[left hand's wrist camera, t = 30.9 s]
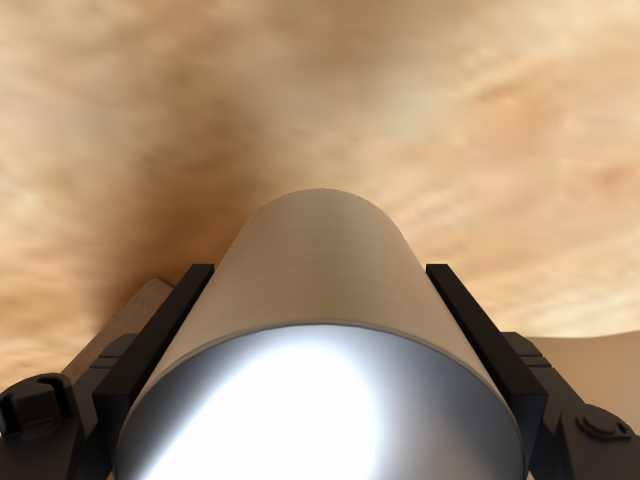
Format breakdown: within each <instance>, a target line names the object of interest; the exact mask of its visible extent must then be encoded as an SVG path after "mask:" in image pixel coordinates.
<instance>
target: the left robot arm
mask: <svg viewBox="0 0 640 480" xmlns="http://www.w3.org/2000/svg"><path fill="white" fill-rule="evenodd" d="M214 272H215V271H214V264H193V265H192V266H191V267H190V269H189V270H188V271H187V272H186V274H185V275H184V276H183V278H182V279H181V280H180V281H179V283H178V284H177V285H176V287H175V288H174V289H173V290H172V292H171V293H170V294H169V295H168V297H167V298H166V299H165V301H164V302H163V303H162V304H161V306H160V307H159V308H158V309H157V311H156V312H155V313H154V315H153V316H152V317H151V318H150V320H149V321H148V322H147V324H146V325H145V326H144V327H143V329H142V330H141V331H140V332H139V333H124V334H123V335H121V336H120V337H118V338H117V339H115V340H114V341H112V342H111V343H109V344H108V345H107V346H106V348H105V349H104V350H103V351H102V352H101V353H100V354H99V356H98V358H96V359H95V360H94V361H93V362H92V364H91V365H90V366H89V369H86V370H85V372H84V373H83V374H82V375H81V376H80V377H79V378H78V380H77V381H76V382H75V383H74V384H73V385H72V384H71V381H70V378H68V377H67V376H66V375H64V374H59V373H47V374H39V375H36V376H33V377H30V378H27V379H24V380H22V381H20V382H18V383H16V384H14V385H12V386H10V387H9V388H7V389H6V390H5V391H3V392H2V393H1V394H0V432H1V435H2V437H1V438H0V480H107V478H108V477H109V475H110V473H111V471H112V475H113V479H114V480H115V455H116V447H117V443H118V439H119V435H120V431H121V428H122V426H123V423H124V421H125V419H126V417H127V415H128V412H129V410H130V408H131V407H132V405H133V404H134V402H135V400H136V399H137V397H138V395H139V394H140V392H141V391H142V389H143V387H144V386H145V384H146V382H147V381H148V379H149V378H150V376H151V374H152V373H153V371H154V370H155V368H156V366H157V365H158V363H159V361H160V360H161V358H162V357H163V355H164V353H165V352H166V350H167V348H168V347H169V345H170V344H171V342H172V340H173V339H174V337H175V336H176V334H177V332H178V331H179V329H180V327H181V326H182V324H183V323H184V321H185V319H186V318H187V316H188V314H189V313H190V311H191V310H192V308H193V306H194V305H195V303H196V302H197V300H198V298H199V297H200V295H201V293H202V292H203V290H204V289H205V287H206V285H207V284H208V282H209V280H210V279H211V277H212V276H213V274H214ZM426 274H427V276H428V277H429V279H430V281H431V282H432V284H433V285H434V287H435V289H436V290H437V292H438V293H439V295H440V297H441V298H442V300H443V302H444V303H445V305H446V306H447V308H448V310H449V311H450V313H451V314H452V316H453V318H454V319H455V321H456V322H457V324H458V326H459V327H460V329H461V331H462V332H463V334H464V335H465V337H466V339H467V340H468V342H469V343H470V345H471V347H472V348H473V350H474V352H475V353H476V355H477V356H478V358H479V360H480V361H481V363H482V364H483V366H484V368H485V369H486V371H487V373H488V374H489V376H490V377H491V379H492V381H493V382H494V384H495V385H496V387H497V389H498V390H499V392H500V394H501V395H502V397H503V398H504V400H505V402H506V404H507V405H508V407H509V409H510V410H511V412H512V414H513V416H514V417H515V420H516V422H517V425H518V428H519V431H520V434H521V436H522V441H523V447H524V453H525V461H526V463H525V480H527V476H528V472H529V471H530V472H531V474H532V476H533V477H534V479H535V480H640V436H638V435H635V433H634V432H633V430H632V429H631V427H630V426H628V425H627V424H626V423H625V422H624V421H622V420H621V419H620V418H619V417H617V416H615V415H614V414H612V413H610V412H608V411H606V410H605V409H602V408H599V407H596V406H593V405H590V404H585V403H584V401H583V400H582V399H581V398H580V397H579V396H578V395H577V393H576V392H575V391H574V390H573V389H572V388H571V387H570V385H569V384H568V383H567V382H566V381H565V380H564V379H563V378H562V376H561V375H560V374H559V373H558V372H557V371H556V370H555V368H552V366H551V364H550V363H549V362H548V360H547V359H546V358H545V357H543V356H542V354H541V353H540V351H539V350H538V349H537V348H536V347H535V346H534V345H533V343H532V342H530V341H529V340H527V339H526V338H524V337H522V336H521V335H519V334H518V333H516V332H500V331H499V330H498V328H497V327H496V326H495V325H494V323H493V322H492V321H491V319H490V318H489V317H488V316H487V314H486V313H485V312H484V310H483V309H482V308H481V307H480V305H479V304H478V303H477V302H476V300H475V299H474V298H473V296H472V295H471V294H470V293H469V291H468V290H467V289H466V288H465V286H464V285H463V284H462V282H461V281H460V280H459V279H458V277H457V276H456V275H455V273H454V272H453V271H452V270H451V268H450V267H449V266H448V265H447V264H426Z"/></svg>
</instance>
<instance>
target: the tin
mask: <svg viewBox="0 0 640 480" xmlns="http://www.w3.org/2000/svg"><path fill="white" fill-rule="evenodd" d="M525 463H526V461H525V453H524V447H523V441H522V436H521V434H520V431H519V428H518V425H517V422H516V420H515V417H514V416H513V414H512V412H511V410H510V409H509V407H508V405H507V404H506V402H505V400H504V398H503V397H502V395H501V394H500V392H499V390H498V389H497V387H496V385H495V384H494V382H493V381H492V379H491V377H490V376H489V374H488V373H487V371H486V369H485V368H484V366H483V364H482V363H481V361H480V360H479V358H478V356H477V355H476V353H475V352H474V350H473V348H472V347H471V345H470V343H469V342H468V340H467V339H466V337H465V335H464V334H463V332H462V331H461V329H460V327H459V326H458V324H457V322H456V321H455V319H454V318H453V316H452V314H451V313H450V311H449V310H448V308H447V306H446V305H445V303H444V302H443V300H442V298H441V297H440V295H439V293H438V292H437V290H436V289H435V287H434V285H433V284H432V282H431V281H430V279H429V277H428V276H427V274H426V272H425V271H424V269H423V268H422V266H421V264H420V263H419V261H418V260H417V258H416V256H415V255H414V253H413V251H412V250H411V248H410V247H409V245H408V243H407V242H406V240H405V239H404V237H403V235H402V234H401V232H400V230H399V229H398V227H397V226H396V225H395V224H394V222H393V221H392V220H391V219H390V218H389V217H388V216H387V215H386V214H385V213H384V212H383V211H382V210H381V209H379V208H378V207H377V206H375V205H374V204H372V203H371V202H369V201H367V200H365V199H363V198H361V197H359V196H356V195H354V194H351V193H348V192H344V191H339V190H333V189H307V190H301V191H296V192H293V193H289V194H286V195H283V196H281V197H279V198H277V199H275V200H273V201H271V202H269V203H268V204H266V205H265V206H263V207H262V208H261V209H259V210H258V211H257V212H256V213H255V214H253V215H252V217H251V218H250V219H249V220H248V221H247V222H246V223H245V225H244V226H243V228H242V229H241V231H240V232H239V234H238V235H237V237H236V238H235V240H234V242H233V243H232V245H231V246H230V248H229V250H228V251H227V253H226V255H225V256H224V258H223V259H222V261H221V263H220V264H219V266H218V268H217V269H216V271H215V272H214V274H213V276H212V277H211V279H210V280H209V282H208V284H207V285H206V287H205V289H204V290H203V292H202V293H201V295H200V297H199V298H198V300H197V302H196V303H195V305H194V306H193V308H192V310H191V311H190V313H189V314H188V316H187V318H186V319H185V321H184V323H183V324H182V326H181V327H180V329H179V331H178V332H177V334H176V336H175V337H174V339H173V340H172V342H171V344H170V345H169V347H168V348H167V350H166V352H165V353H164V355H163V357H162V358H161V360H160V361H159V363H158V365H157V366H156V368H155V370H154V371H153V373H152V374H151V376H150V378H149V379H148V381H147V382H146V384H145V386H144V387H143V389H142V391H141V392H140V394H139V395H138V397H137V399H136V400H135V402H134V404H133V405H132V407H131V408H130V410H129V412H128V415H127V417H126V419H125V421H124V423H123V426H122V428H121V431H120V435H119V439H118V443H117V447H116V455H115V480H525Z"/></svg>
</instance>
